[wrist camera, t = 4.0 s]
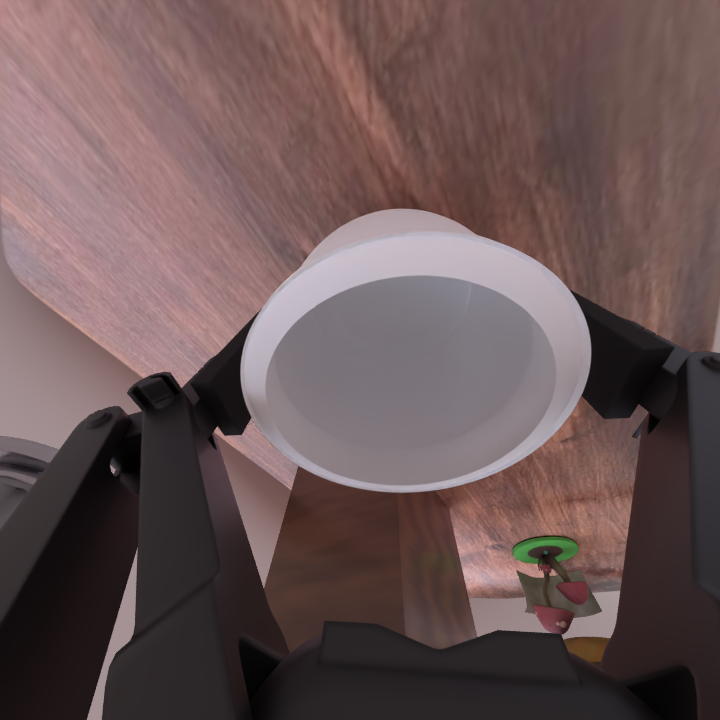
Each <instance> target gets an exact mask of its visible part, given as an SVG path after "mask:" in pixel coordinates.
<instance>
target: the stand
mask: <svg viewBox="0 0 720 720" xmlns="http://www.w3.org/2000/svg"><path fill="white" fill-rule="evenodd" d="M264 591H265V595H266V598H267V601H268V604H269V607H270V610H271V612H272V614H273V616H274V618H275V620H276V622H277V623H278V625H279V627H280V629H281V631H282V633H283V636H284V638H285V641H286V643H287V646H288V649H289V652H290V653H291V652H293V651H294V650H295V649H297V648H298V647H299V646H301V645H302V644H303V643H305V642H307V641H309V640H311V639H313V638H315V637H317V636H319V635H322V634H323V626H324V621H339V622H357V623H375V624H379V625H381V626H384V627H386V628H388V629H391V630H393V631H395V632H397V633H400V634H402V635H404V636H407V637H409V638H411V639H413V640H416V641H418V642H420V643H423V644H425V645H427V646H429V647H432V648H435V649H444V648H448V647H450V646H453V645H456V644H459V643H462V642H465V641H468V640H471V639H474V638H477V634H476V630H475V626H474V621H473V616H472V612H471V608H470V603H469V598H468V594H467V589H466V585H465V580H464V576H463V571H462V567H461V562H460V558H459V554H458V549H457V545H456V540H455V536H454V531H453V527H452V522H451V518H450V513H449V509H448V508H447V507H446V506H445V504H444V503H443V502H442V500H441V499H440V498H439V496H438V495H437V494H436V492H435V491H434V490H433V491H424V492H405V493H399V492H380V491H372V490H365V489H359V488H355V487H350V486H346V485H343V484H339V483H336V482H333V481H330V480H327V479H325V478H322V477H320V476H318V475H315V474H313V473H311V472H309V471H307V470H305V469H304V468H302V467H298V469H297V473H296V476H295V480H294V483H293V487H292V491H291V494H290V498H289V501H288V505H287V509H286V512H285V516H284V519H283V523H282V526H281V530H280V533H279V537H278V540H277V544H276V548H275V551H274V555H273V559H272V562H271V565H270V569H269V573H268V576H267V580H266V584H265V587H264Z"/></svg>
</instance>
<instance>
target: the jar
mask: <svg viewBox="0 0 720 720" xmlns="http://www.w3.org/2000/svg"><path fill="white" fill-rule="evenodd" d="M590 363H591V341H590V334H589V329H588V326H587V322H586V319H585V317H584V314H583V312H582V310H581V308H580V306H579V304H578V302H577V301H576V299H575V297H574V296H573V295H572V293H571V292H570V290H569V289H568V288H567V287H566V286H565V284H564V283H563V282H562V281H561V280H560V279H559V278H558V277H557V276H556V275H555V274H553V273H552V272H551V271H550V270H549V269H547V268H546V267H545V266H544V265H542V264H541V263H539V262H538V261H536V260H535V259H533V258H531V257H530V256H528V255H526V254H524V253H522V252H520V251H518V250H516V249H514V248H511V247H509V246H507V245H504V244H501V243H498V242H496V241H493V240H491V239H488V238H485V237H482V236H478V235H476V234H475V233H473V232H472V231H470V230H469V229H467V228H466V227H464V226H463V225H461V224H459V223H457V222H455V221H453V220H451V219H449V218H446V217H444V216H441V215H438V214H435V213H431V212H427V211H422V210H416V209H389V210H382V211H377V212H373V213H370V214H367V215H364V216H361V217H359V218H356V219H354V220H352V221H350V222H348V223H346V224H344V225H343V226H341V227H340V228H338V229H337V230H335V231H334V232H332V233H331V234H330V235H329V236H327V237H326V238H325V239H324V240H323V241H322V242H321V243H320V244H319V245H318V246H317V247H316V248H315V249H314V250H313V251H312V252H311V253H310V255H309V256H308V257H307V259H306V260H305V261H304V263H303V264H302V266H301V267H300V268H299V269H298V270H297V271H296V272H294V273H293V274H292V275H291V276H290V277H289V278H288V279H286V280H285V281H284V282H283V283H282V284H281V285H280V286H279V287H278V288H277V289H276V291H275V292H274V293H273V294H272V295H271V297H270V298H269V299H268V301H267V302H266V304H265V305H264V307H263V308H262V309H261V311H260V312H259V314H258V315H257V317H256V319H255V320H254V322H253V324H252V326H251V328H250V331H249V333H248V335H247V338H246V341H245V344H244V348H243V352H242V358H241V370H240V375H241V386H242V392H243V396H244V400H245V403H246V406H247V408H248V411H249V413H250V415H251V417H252V419H253V421H254V422H255V424H256V426H257V427H258V429H259V430H260V431H261V433H262V434H263V435H264V437H265V438H266V439H267V440H268V441H269V442H270V443H271V444H272V445H273V446H274V447H275V448H276V449H277V450H278V451H279V452H280V453H281V454H283V455H284V456H285V457H287V458H288V459H289V460H291V461H292V462H294V463H295V464H297V465H298V466H300V467H302V468H304V469H305V470H307V471H309V472H311V473H313V474H315V475H318V476H320V477H322V478H325V479H327V480H330V481H333V482H336V483H339V484H343V485H346V486H350V487H355V488H359V489H365V490H372V491H380V492H399V493H405V492H424V491H433V490H440V489H446V488H451V487H455V486H459V485H463V484H467V483H470V482H474V481H477V480H480V479H482V478H485V477H488V476H490V475H493V474H495V473H497V472H499V471H502V470H504V469H506V468H508V467H510V466H511V465H513V464H515V463H517V462H518V461H520V460H522V459H523V458H525V457H526V456H528V455H529V454H531V453H532V452H534V451H535V450H536V449H538V448H539V447H540V446H541V445H543V444H544V443H545V442H546V441H547V440H548V439H549V438H550V437H552V436H553V435H554V434H555V433H556V431H557V430H558V429H559V428H560V427H561V426H562V425H563V424H564V422H565V421H566V420H567V418H568V417H569V416H570V414H571V413H572V411H573V410H574V408H575V406H576V405H577V403H578V401H579V399H580V397H581V395H582V393H583V390H584V388H585V385H586V382H587V378H588V375H589V370H590Z"/></svg>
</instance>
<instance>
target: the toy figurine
mask: <svg viewBox="0 0 720 720" xmlns="http://www.w3.org/2000/svg"><path fill="white" fill-rule="evenodd" d="M578 551H579V548H578V546H577V544H576V543H575V542H574V541H573V540H570V539H567V538H563V537H540V538H534V539H530V540H527V541H524V542H522V543H520V544H518V545H516V546H515V547H514V549H513V554H514V557H515V558H516V559H517V560H519V561H522V562H525V563H532V564H538V568H541V570H543V572H544V577H545V578H534V577H531V576H528V575H526V574H523V573H521V572H519V571H517V570H516V571H517V573H518V576H519V579H520V582H521V584H522V587H523V590H524V593H525V596H526V602H527V609H526V611H525V612H528V613H534V614H536V615H537V617H538V619H539V620H540V622H541V624H542V625H543V627H544V628H545V629H546V630H547V631H549V632H552V633H555V634H564V633H566V632H567V631H568V629H569V627H570V624H571V622H572V620H573V618H576V617H586V616H590V615H594V614H596V613H599V612H602V610H601V608H600V606H599V605H598V603H597V601H596V599H595V597H594V596H593V594H592V593H591V591H590V589H589V587H588V584H587V583H586V580H585V578H584V576H583V575H582V573H581V571H580V570H578V571H575V572H572V573H568V574H567V573H566V570H564V569H563V567H562V566H561V565H560V564H559V563H558V562H559V561H563V560H566V559H569V558H571V557H573V556H574V555H576V554H577V553H578ZM539 564H542V565H541V566H540V567H539ZM548 564H549V565H548ZM551 568H552V569H554V570H555V571H556V572H557V573H558V574H559V575H556V576H549V573H550V572H551ZM539 571H540V569H539ZM609 640H610V638H602V637H575V638H568V639H565V640H564V643H565V645H566V648H567V650H568V651H569V652H571V653H574V654H576V655H577V656H579V657H581V658H583V659H585V660H587V661H589V662H591V663H592V664H594V665H595V666H597V667H598V668H600V664H601V660H602V656H603V653H604V650H605V648H606V646H607V644H608V642H609Z"/></svg>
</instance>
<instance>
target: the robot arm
mask: <svg viewBox="0 0 720 720" xmlns="http://www.w3.org/2000/svg"><path fill="white" fill-rule="evenodd" d="M570 292H571V293H572V295H573V296H574V297H575V299H576V301H577V302H578V304H579V306H580V308H581V310H582V312H583V314H584V317H585V319H586V322H587V326H588V329H589V334H590V341H591V363H590V370H589V375H588V378H587V382H586V385H585V388H584V390H583V393H582V395H581V396H582V397H583V398H584V399H585V400H586V401H587V402H588V403H589V404H590V405H591V406H592V407H593V408H594V409H595V410H596V411H597V412H598V413H599V414H600V415H601V416H602V417H603V418H604V419H612V418H630V416H631V415H632V413H633V412H634V410H635V409H636V407H637V406H638V404H640V405H641V406H642V407H643V408H644V409H646V410H647V411H648V412H649V413H648V414H647V416H646V417H645V419H644V420H643V422H642V423H641V424H640V426H639V427H638V429H637V430H636V432H635V433H634V434H633V436H632V437H634V438H637V437H638V436H639V435H641V439H640V446H639V454H638V462H637V469H636V477H635V484H634V492H633V500H632V507H631V515H630V522H629V530H628V538H627V545H626V553H625V560H624V568H623V575H622V583H621V591H620V598H619V606H618V613H617V621H616V626H615V629H614V632H613V635H612V636H611V638H610V640H609V642H608V644H607V646H606V648H605V650H604V653H603V656H602V660H601V664H600V668H598V667H597V666H595V665H594V664H592V663H591V662H589V661H587V660H585V659H583V658H581V657H579V656H577V655H576V654H574V653H571V652H569V651H568V650H567V648H566V645H565V643H564V640H563V638H562V635H561V634H555V633H537V632H536V633H535V632H519V631H501V630H497V631H494V632H492V633H488V634H485V635H483V636H480V637H477V638H474V639H471V640H468V641H465V642H462V643H459V644H456V645H453V646H450V647H448V648H444V649H435V648H432V647H429V646H427V645H425V644H423V643H420V642H418V641H416V640H413V639H411V638H409V637H407V636H404V635H402V634H400V633H397V632H395V631H393V630H391V629H388V628H386V627H384V626H381V625H379V624H375V623H357V622H339V621H324V626H323V634H322V635H319V636H317V637H315V638H313V639H311V640H309V641H307V642H305V643H303V644H302V645H301V646H299V647H298V648H297V649H295V650H294V651H293V652H291V653H290V652H289V649H288V646H287V643H286V641H285V638H284V636H283V633H282V631H281V629H280V627H279V625H278V623H277V622H276V620H275V618H274V616H273V614H272V612H271V610H270V607H269V604H268V601H267V598H266V595H265V591H264V588H263V585H262V582H261V579H260V575H259V572H258V569H257V566H256V563H255V560H254V556H253V553H252V550H251V547H250V544H249V541H248V538H247V535H246V531H245V528H244V525H243V521H242V519H241V515H240V512H239V509H238V506H237V502H236V499H235V496H234V493H233V490H232V487H231V483H230V480H229V477H228V474H227V471H226V468H225V465H224V461H223V458H222V455H221V452H220V448H219V445H218V442H217V439H216V438H215V436H214V435H213V432H214V430H215V429H216V427H217V426H218V427H219V428H220V430H221V431H222V433H223V434H224V436H226V435H242V433H243V432H244V430H245V428H246V426H247V424H248V423H249V421H250V419H251V415H250V413H249V411H248V408H247V406H246V403H245V400H244V396H243V392H242V386H241V375H240V370H241V358H242V352H243V348H244V344H245V341H246V338H247V335H248V333H249V331H250V328H251V326H252V324H253V322H254V320H255V319H256V317H257V315H258V314H259V312H260V311H261V310H260V311H259V312H258V313H257V314H256V315H255V316H254V317H253V318H252V319H251V320H250V321H249V322H248V323H247V324H246V325H245V326H244V327H243V328H242V330H241V331H240V332H239V333H238V334H237V335H236V336H235V337H234V338H233V339H232V340H231V341H230V342H229V343H228V344H227V345H226V346H225V347H224V348H223V349H222V350H221V351H220V352H219V354H217V355H216V356H214V357H213V358H211V359H210V360H209V361H208V362H207V363H206V364H205V365H204V367H202V368H201V369H200V370H199V371H198V373H196V374H195V375H194V376H193V377H192V378H191V379H190V380H189V381H188V382H187V383H186V384H185V385H184V386H183V387H182V388H181V387H180V386H179V384H178V383H177V381H176V380H175V378H174V377H173V376H172V374H171V373H169V372H161V373H156V374H153V375H150V376H148V377H146V378H144V379H142V380H140V381H139V382H137V383H135V384H134V385H133V386H132V387H131V388H130V389H129V391H128V392H127V394H128V395H129V396H130V397H131V398H132V399H133V401H134V402H135V403H136V404H137V405H138V406H139V407H140V409H141V410H142V412H138V413H134V414H131V415H127V414H126V413H125V412H124V410H123V409H122V408H120V407H119V406H113V407H108V408H105V409H103V410H98V411H97V412H94V414H91V415H89V416H88V417H87V418H86V419H84V420H83V421H82V422H81V423H80V424H79V425H78V426H77V427H76V428H75V429H74V431H73V432H72V433H71V435H70V436H69V437H68V439H67V440H66V441H65V443H64V444H63V445H62V447H61V448H60V450H59V451H58V452H57V454H56V455H55V456H54V458H53V459H52V460H51V462H50V463H49V464H48V466H47V467H46V468H45V470H44V471H43V472H40V471H37V470H34V469H30V468H26V467H22V466H17V465H10V464H0V720H87V717H88V713H89V710H90V706H91V703H92V700H93V696H94V693H95V690H96V686H97V683H98V679H99V676H100V673H101V669H102V666H103V662H104V659H105V656H106V652H107V649H108V645H109V642H110V638H111V635H112V632H113V628H114V625H115V622H116V618H117V615H118V611H119V608H120V605H121V601H122V598H123V594H124V591H125V588H126V584H127V581H128V578H129V574H130V571H131V567H132V564H133V561H134V557H135V554H136V550H137V547H138V556H137V583H136V584H137V585H136V612H135V628H134V634H133V636H132V638H131V640H130V641H129V642H128V643H127V644H126V645H125V646H124V647H122V648H121V649H120V650H119V651H118V652H117V653H116V654H115V656H114V658H113V660H112V662H111V664H110V667H109V670H108V675H107V680H106V685H105V694H104V704H103V715H102V720H720V353H715V352H694V353H691V352H689V351H687V350H685V349H683V348H682V347H680V346H678V345H676V344H674V343H672V342H670V341H669V340H667V339H665V338H663V337H661V336H659V335H656V334H655V333H654V332H652V331H650V330H648V329H646V330H645V328H644V327H642V326H640V325H639V324H637V323H635V322H633V321H630V320H627V319H624V318H621V317H619V316H617V315H615V314H613V313H611V312H610V311H608V310H606V309H604V308H602V307H600V306H599V305H597V304H595V303H593V302H591V301H589V300H588V299H586V298H584V297H582V296H580V295H578V294H577V293H575V292H573V291H571V290H570ZM110 465H111V466H113V467H114V468H115V469H116V471H115V473H114V475H113V473H112V472H111V468H110Z"/></svg>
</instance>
